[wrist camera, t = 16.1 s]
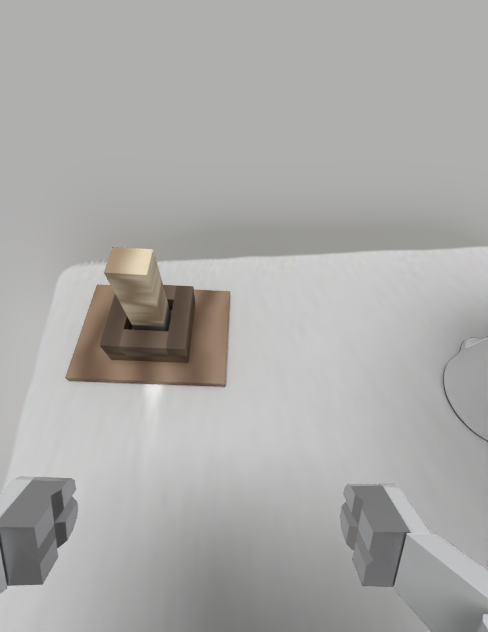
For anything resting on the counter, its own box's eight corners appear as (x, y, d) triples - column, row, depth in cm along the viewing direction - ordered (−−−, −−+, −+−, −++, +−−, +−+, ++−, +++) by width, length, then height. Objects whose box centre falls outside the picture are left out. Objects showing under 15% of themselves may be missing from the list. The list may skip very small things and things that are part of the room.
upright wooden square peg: (171, 314, 45) (152, 249, 33) (167, 335, 43) (146, 274, 31) (141, 313, 45) (112, 247, 33) (137, 334, 43) (104, 272, 31)
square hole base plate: (229, 295, 51) (230, 273, 46) (225, 386, 43) (225, 371, 38) (99, 288, 50) (85, 265, 45) (69, 380, 42) (47, 364, 37)
